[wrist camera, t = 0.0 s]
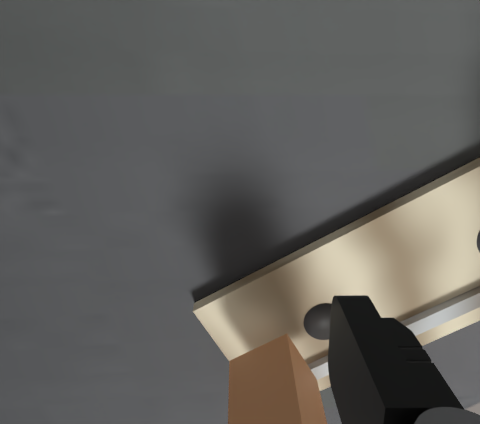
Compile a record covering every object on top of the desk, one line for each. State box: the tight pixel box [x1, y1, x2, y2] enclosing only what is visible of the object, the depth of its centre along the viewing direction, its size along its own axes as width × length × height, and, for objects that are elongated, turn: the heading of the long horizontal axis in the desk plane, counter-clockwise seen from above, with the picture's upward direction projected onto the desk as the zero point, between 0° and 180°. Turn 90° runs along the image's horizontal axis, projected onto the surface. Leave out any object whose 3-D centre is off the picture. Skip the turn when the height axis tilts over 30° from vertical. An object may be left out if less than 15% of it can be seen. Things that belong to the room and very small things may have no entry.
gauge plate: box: [193, 157, 480, 391], centre depth 25 cm, size 24×10×10 cm, turn 120°
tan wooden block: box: [228, 334, 327, 424], centre depth 26 cm, size 4×4×9 cm
